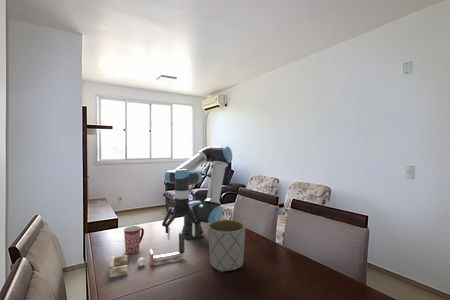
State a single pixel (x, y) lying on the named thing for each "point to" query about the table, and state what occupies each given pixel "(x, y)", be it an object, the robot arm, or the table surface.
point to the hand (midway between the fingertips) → (181, 237)
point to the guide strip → (166, 260)
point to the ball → (141, 261)
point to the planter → (226, 244)
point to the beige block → (120, 269)
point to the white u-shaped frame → (171, 255)
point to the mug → (133, 239)
